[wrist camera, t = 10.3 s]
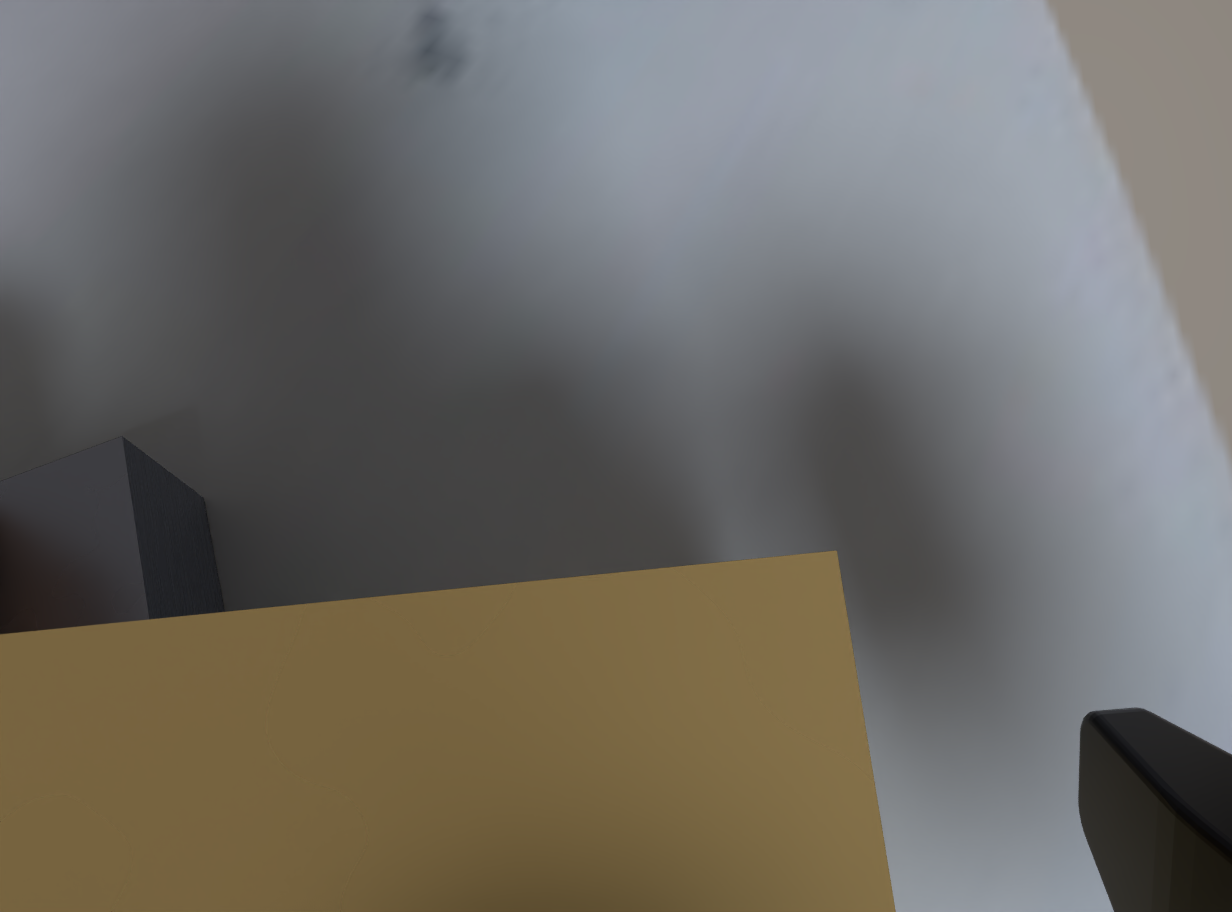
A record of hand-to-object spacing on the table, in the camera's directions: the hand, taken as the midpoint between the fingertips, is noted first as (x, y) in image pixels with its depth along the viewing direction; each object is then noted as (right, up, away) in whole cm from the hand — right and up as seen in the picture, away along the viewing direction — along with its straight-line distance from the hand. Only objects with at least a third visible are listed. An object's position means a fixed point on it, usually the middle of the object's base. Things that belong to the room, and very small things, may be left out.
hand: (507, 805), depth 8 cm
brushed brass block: (+1, -3, +6) cm, 7 cm away
